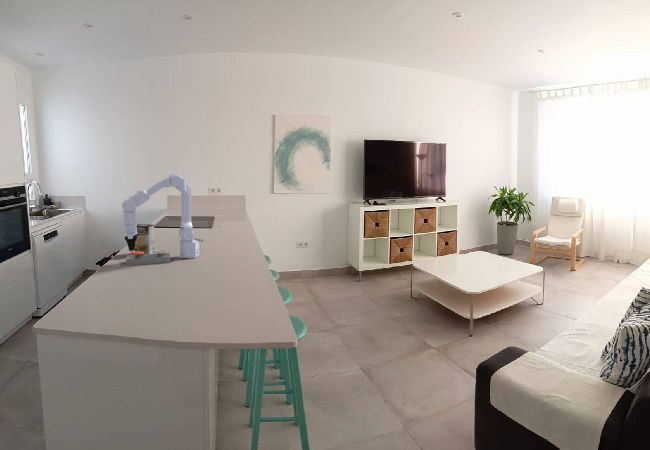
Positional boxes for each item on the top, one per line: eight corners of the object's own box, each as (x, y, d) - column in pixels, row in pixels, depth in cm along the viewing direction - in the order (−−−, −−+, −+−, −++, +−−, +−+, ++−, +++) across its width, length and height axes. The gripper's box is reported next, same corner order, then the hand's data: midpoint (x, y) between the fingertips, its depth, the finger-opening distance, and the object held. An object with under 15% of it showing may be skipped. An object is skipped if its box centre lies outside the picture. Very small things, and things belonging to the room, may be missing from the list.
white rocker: (164, 252, 209) (165, 250, 209) (165, 253, 206) (165, 251, 206) (152, 251, 206) (152, 249, 206) (152, 252, 203) (152, 250, 203)
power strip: (169, 258, 211) (169, 251, 210) (170, 262, 203) (170, 255, 202) (127, 261, 203) (126, 254, 203) (126, 265, 195) (125, 258, 194)
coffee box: (133, 254, 217) (132, 225, 215) (140, 252, 224) (138, 223, 221) (149, 255, 216) (148, 226, 214) (155, 252, 223) (154, 224, 220)
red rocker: (143, 254, 205) (144, 252, 205) (143, 255, 202) (144, 253, 202) (130, 252, 202) (131, 250, 202) (130, 254, 200) (130, 252, 199)
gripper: (122, 221, 204) (123, 248, 206) (120, 226, 191) (121, 254, 193) (137, 221, 207) (138, 247, 209) (136, 225, 193) (138, 253, 196)
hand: (131, 250), depth 201 cm, fingers closed
